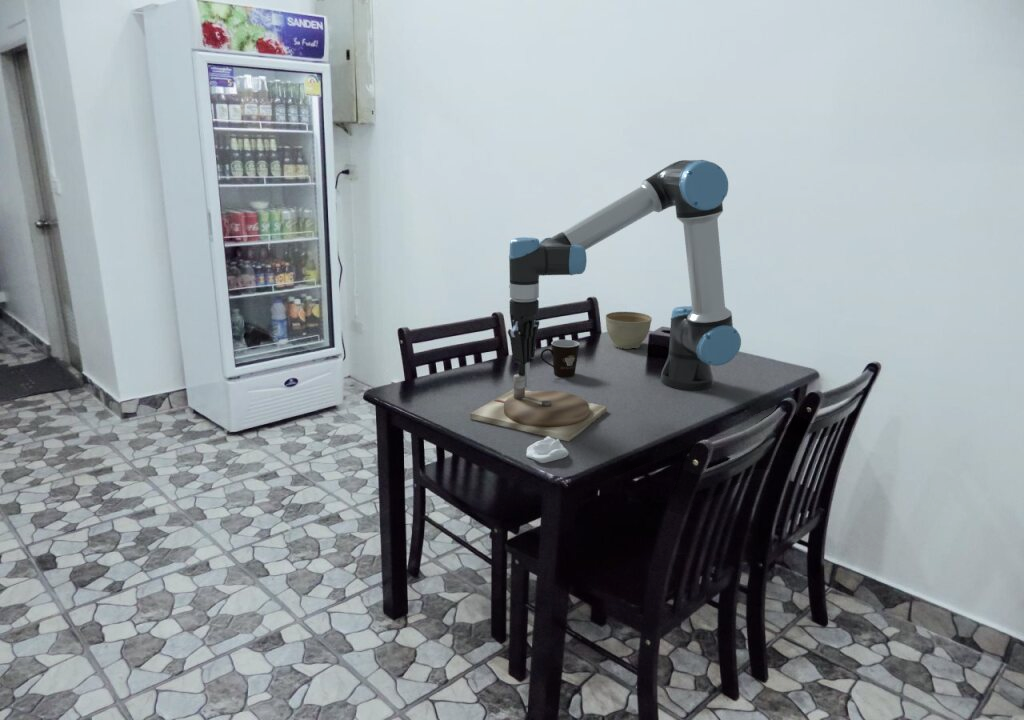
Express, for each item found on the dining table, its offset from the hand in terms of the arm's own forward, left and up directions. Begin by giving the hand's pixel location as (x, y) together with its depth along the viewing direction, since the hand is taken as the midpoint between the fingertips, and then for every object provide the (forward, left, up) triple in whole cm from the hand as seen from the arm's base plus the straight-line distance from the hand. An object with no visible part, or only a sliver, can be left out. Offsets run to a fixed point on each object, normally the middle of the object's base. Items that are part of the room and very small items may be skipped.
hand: (523, 385), depth 181 cm
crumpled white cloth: (-20, +24, -6) cm, 32 cm away
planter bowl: (-2, -72, -6) cm, 73 cm away
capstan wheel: (-9, +4, -4) cm, 10 cm away
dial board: (-7, +4, -6) cm, 10 cm away
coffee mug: (+4, -30, -6) cm, 31 cm away
